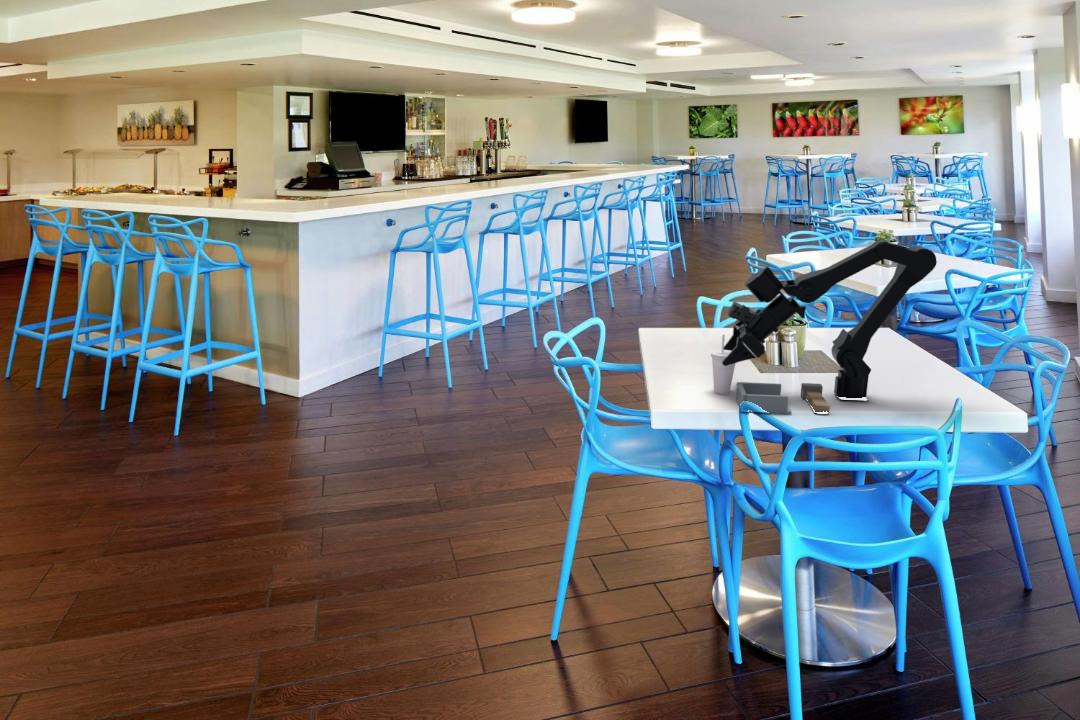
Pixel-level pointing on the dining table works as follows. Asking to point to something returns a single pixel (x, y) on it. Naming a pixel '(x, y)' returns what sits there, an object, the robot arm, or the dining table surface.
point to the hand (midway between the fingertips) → (722, 359)
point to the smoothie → (722, 370)
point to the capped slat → (814, 396)
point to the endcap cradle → (763, 396)
